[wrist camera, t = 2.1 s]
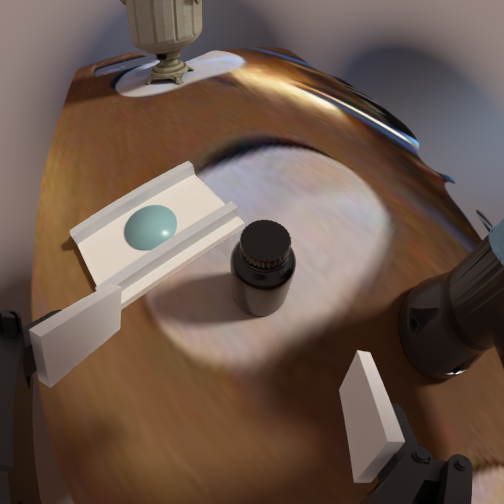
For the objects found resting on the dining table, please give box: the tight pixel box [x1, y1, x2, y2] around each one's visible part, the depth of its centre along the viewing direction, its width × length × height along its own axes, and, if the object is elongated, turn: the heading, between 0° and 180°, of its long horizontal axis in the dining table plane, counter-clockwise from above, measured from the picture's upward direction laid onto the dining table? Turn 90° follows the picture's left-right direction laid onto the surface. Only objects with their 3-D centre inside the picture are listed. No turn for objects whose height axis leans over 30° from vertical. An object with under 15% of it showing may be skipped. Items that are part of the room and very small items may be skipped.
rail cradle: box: [70, 161, 244, 310], centre depth 40 cm, size 22×16×3 cm
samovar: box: [120, 0, 202, 85], centre depth 55 cm, size 30×26×40 cm
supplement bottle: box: [230, 220, 296, 316], centre depth 32 cm, size 7×7×12 cm
